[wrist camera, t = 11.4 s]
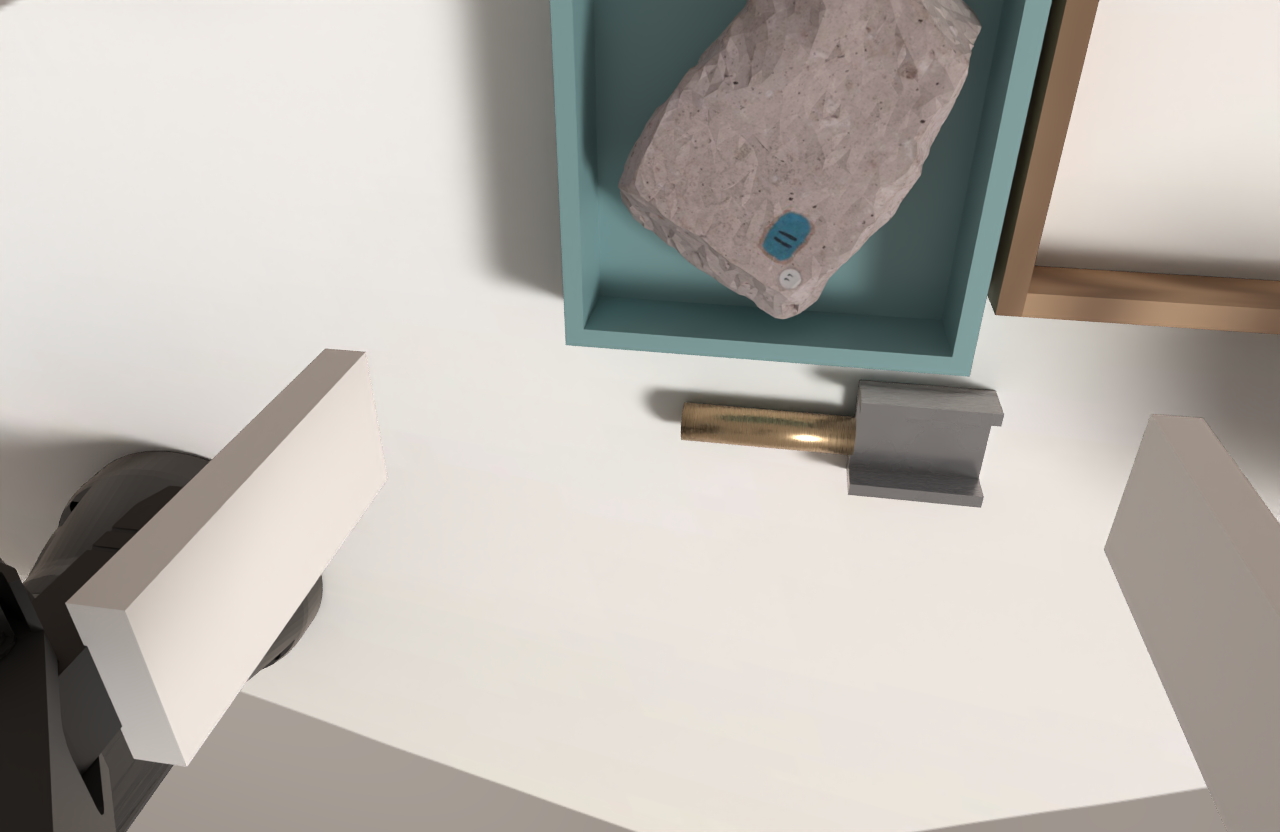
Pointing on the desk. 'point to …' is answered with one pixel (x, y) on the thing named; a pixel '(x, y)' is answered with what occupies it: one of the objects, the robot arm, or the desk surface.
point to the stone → (797, 138)
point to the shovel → (876, 438)
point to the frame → (1090, 290)
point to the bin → (863, 286)
